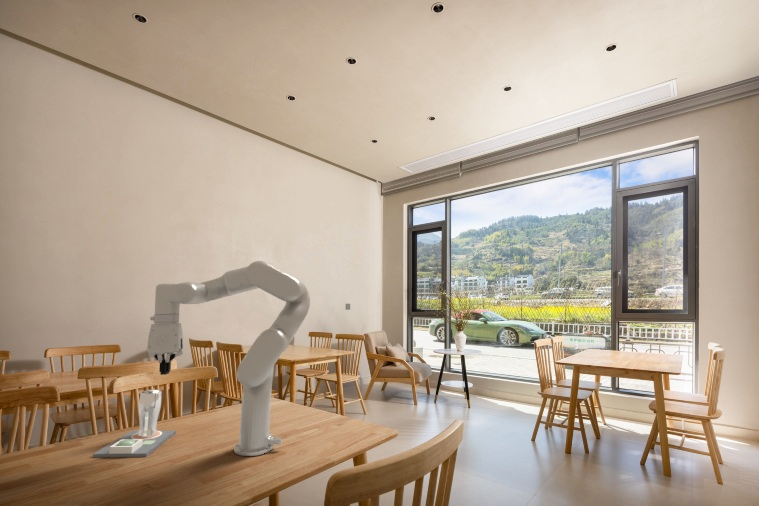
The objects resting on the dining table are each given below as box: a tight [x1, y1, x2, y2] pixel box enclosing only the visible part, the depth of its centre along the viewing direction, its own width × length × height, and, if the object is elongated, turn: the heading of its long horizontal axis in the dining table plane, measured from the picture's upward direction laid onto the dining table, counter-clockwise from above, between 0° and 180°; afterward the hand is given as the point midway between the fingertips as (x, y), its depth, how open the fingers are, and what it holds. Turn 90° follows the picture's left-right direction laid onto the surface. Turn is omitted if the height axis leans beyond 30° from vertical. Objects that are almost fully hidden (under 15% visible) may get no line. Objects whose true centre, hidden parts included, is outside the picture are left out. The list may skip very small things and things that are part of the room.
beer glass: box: [137, 389, 162, 438], centre depth 141 cm, size 7×7×15 cm
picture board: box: [92, 429, 177, 458], centre depth 134 cm, size 16×22×3 cm
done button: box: [119, 439, 135, 446], centre depth 127 cm, size 4×4×2 cm
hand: (164, 373), depth 133 cm, fingers closed
